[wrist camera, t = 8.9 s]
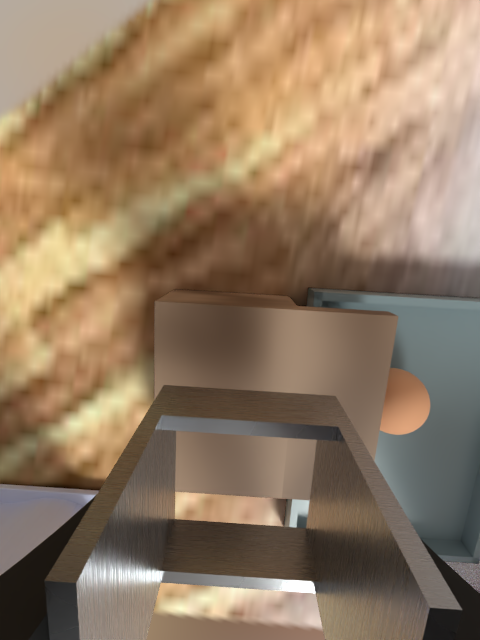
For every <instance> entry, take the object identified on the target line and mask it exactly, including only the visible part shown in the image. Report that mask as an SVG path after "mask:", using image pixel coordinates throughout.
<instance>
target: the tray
mask: <svg viewBox="0 0 480 640" xmlns="http://www.w3.org/2000/svg"><path fill="white" fill-rule="evenodd" d="M307 307H323V308H339V309H356V310H372V311H388V312H391V313H393V314H395V315H397V316H398V322H397V328H396V335H395V341H394V347H393V353H392V359H391V365H390V368H398V369H402V370H405V371H408V372H410V373H411V374H413V375H414V376H416V377H417V378H418V379H419V380H420V381H421V382H422V383H423V384H424V386H425V388H426V389H427V391H428V394H429V398H430V411H429V415H428V417H427V419H426V421H425V422H424V424H423V425H422V426H421V427H419V428H418V429H417V430H415V431H413V432H411V433H407V434H402V435H395V434H389V433H385V432H383V431H379V437H378V443H377V449H376V455H375V463H376V465H377V467H378V468H379V470H380V472H381V473H382V475H383V477H384V478H385V480H386V482H387V483H388V485H389V487H390V489H391V490H392V492H393V494H394V495H395V497H396V499H397V500H398V502H399V504H400V505H401V507H402V509H403V510H404V512H405V514H406V516H407V517H408V519H409V521H410V522H411V524H412V526H413V527H414V529H415V531H416V532H417V534H418V536H419V537H420V538H421V539H422V540H423V541H424V542H425V543H426V544H427V545H428V546H429V547H430V548H431V549H432V550H433V551H434V552H435V553H436V554H437V555H438V556H439V557H440V558H441V559H442V560H443V561H448V562H463V563H478V564H479V560H480V298H470V297H453V296H437V295H420V294H404V293H387V292H371V291H354V290H338V289H321V288H308V298H307ZM309 501H310V500H295V499H287V500H286V510H285V520H284V527H296V528H306V526H307V517H308V509H309Z"/></svg>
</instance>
